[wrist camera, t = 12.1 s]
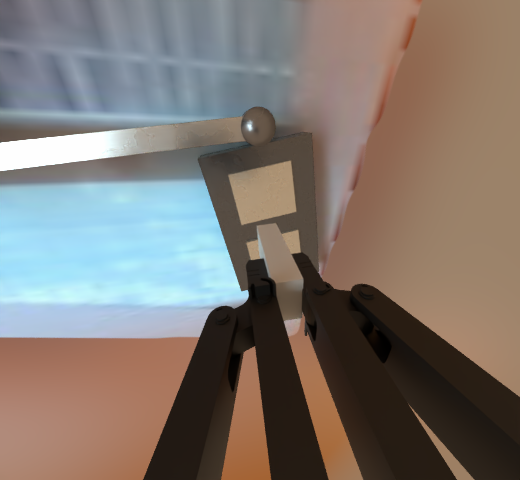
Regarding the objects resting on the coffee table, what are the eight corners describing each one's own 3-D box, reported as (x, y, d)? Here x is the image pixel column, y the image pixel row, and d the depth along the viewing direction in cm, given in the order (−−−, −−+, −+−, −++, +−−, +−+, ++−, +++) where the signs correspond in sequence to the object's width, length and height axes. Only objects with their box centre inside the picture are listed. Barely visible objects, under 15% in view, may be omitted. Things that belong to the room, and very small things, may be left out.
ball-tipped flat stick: (268, 107, 20) (274, 104, 18) (271, 142, 22) (276, 144, 19) (-14, 137, 18) (-47, 139, 16) (12, 174, 20) (-15, 180, 17)
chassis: (191, 128, 25) (183, 129, 20) (301, 103, 25) (318, 98, 21) (240, 279, 38) (242, 301, 33) (312, 261, 38) (324, 280, 34)
